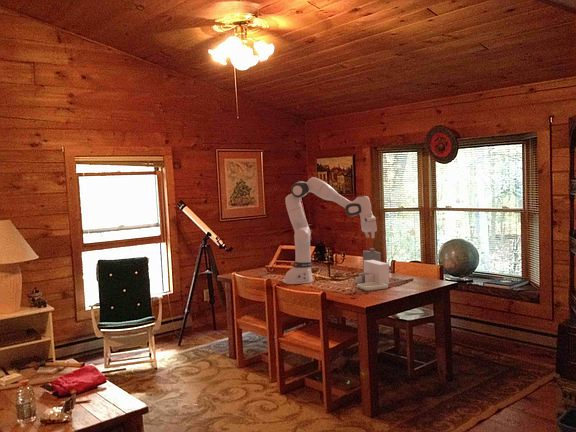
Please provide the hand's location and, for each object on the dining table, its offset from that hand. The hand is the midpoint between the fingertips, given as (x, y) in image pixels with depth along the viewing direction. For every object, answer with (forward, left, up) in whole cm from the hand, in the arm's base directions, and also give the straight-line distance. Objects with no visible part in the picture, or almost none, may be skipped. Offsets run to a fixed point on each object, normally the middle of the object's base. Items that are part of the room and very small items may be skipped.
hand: (370, 238), depth 378 cm
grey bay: (+2, +2, -32) cm, 32 cm away
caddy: (-5, +2, -32) cm, 32 cm away
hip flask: (+18, +26, -32) cm, 45 cm away
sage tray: (-8, -14, -32) cm, 35 cm away
